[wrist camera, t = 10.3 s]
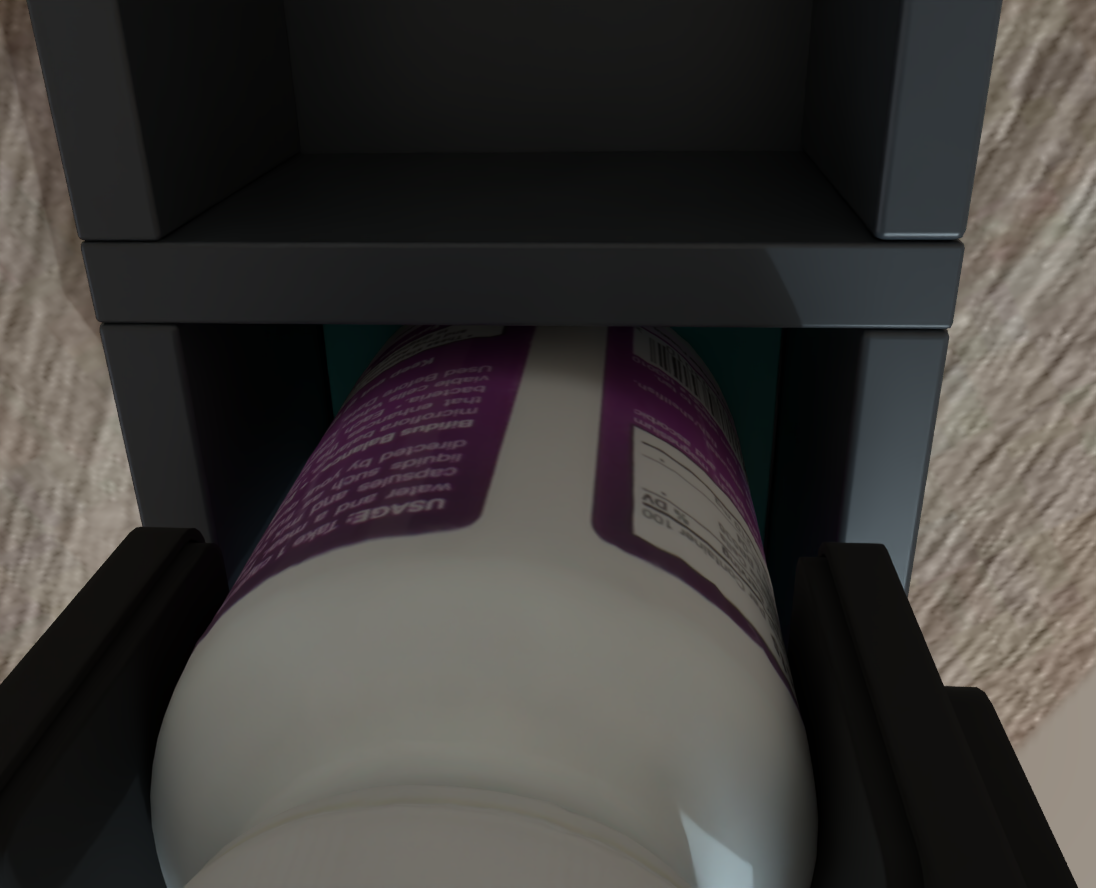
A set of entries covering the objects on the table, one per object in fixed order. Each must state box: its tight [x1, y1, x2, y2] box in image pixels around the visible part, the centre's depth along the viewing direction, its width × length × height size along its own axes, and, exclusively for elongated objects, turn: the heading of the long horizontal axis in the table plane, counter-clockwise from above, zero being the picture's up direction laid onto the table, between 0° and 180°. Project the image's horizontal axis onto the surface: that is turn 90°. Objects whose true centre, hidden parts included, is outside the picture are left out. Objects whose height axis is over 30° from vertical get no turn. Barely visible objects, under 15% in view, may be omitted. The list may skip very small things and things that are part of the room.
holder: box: [27, 0, 1003, 653], centre depth 12 cm, size 15×8×5 cm, turn 1°
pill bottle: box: [150, 325, 818, 888], centre depth 10 cm, size 5×5×10 cm
